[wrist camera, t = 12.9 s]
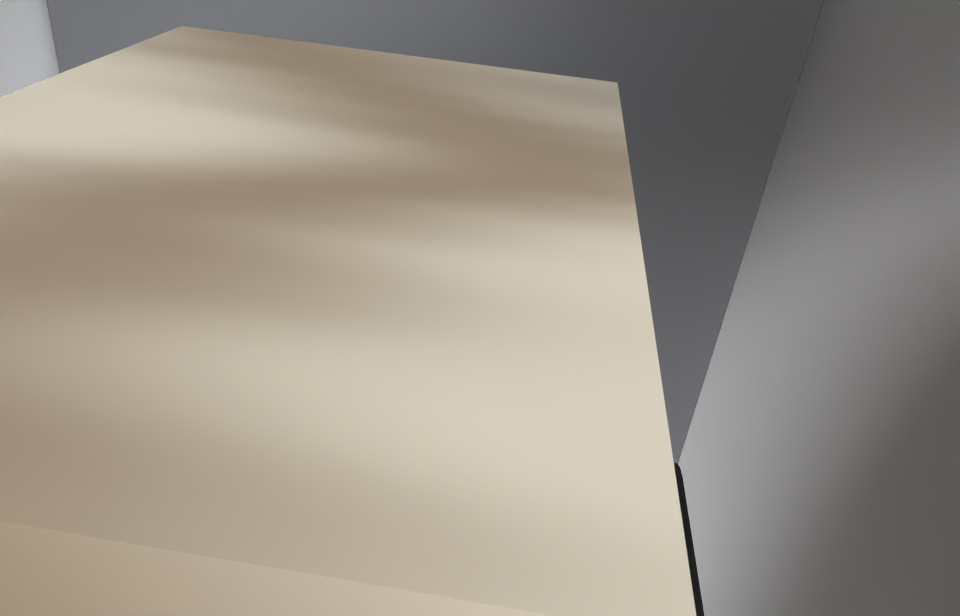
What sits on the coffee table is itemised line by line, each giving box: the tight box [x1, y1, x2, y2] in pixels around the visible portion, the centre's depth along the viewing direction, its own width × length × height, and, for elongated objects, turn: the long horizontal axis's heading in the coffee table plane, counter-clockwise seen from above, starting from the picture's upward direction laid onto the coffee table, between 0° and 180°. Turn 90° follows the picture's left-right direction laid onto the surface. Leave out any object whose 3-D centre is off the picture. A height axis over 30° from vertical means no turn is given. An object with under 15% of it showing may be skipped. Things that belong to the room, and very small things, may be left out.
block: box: [0, 26, 696, 616], centre depth 8 cm, size 5×9×7 cm, turn 174°
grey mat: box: [46, 0, 824, 464], centre depth 12 cm, size 10×12×1 cm
